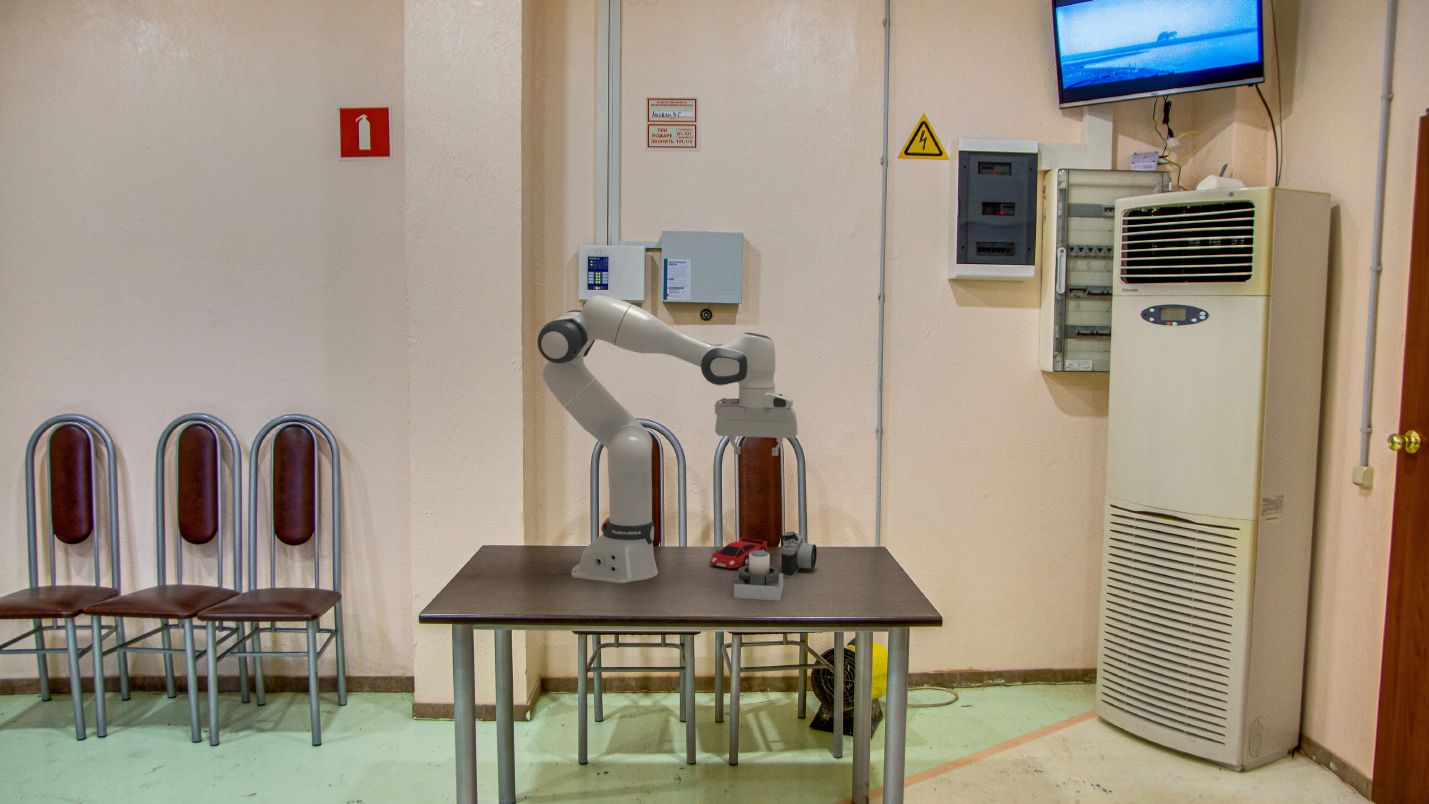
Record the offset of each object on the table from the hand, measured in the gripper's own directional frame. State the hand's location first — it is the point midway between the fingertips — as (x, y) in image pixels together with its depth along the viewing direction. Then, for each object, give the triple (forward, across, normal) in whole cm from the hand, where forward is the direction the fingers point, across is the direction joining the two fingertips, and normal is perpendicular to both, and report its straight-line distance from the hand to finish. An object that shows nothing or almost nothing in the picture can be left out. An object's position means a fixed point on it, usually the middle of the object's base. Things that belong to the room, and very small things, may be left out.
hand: (755, 454), depth 194 cm
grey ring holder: (+33, +2, -7) cm, 34 cm away
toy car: (+34, -6, +20) cm, 40 cm away
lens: (+29, +2, -7) cm, 30 cm away
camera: (+33, +10, +14) cm, 38 cm away
